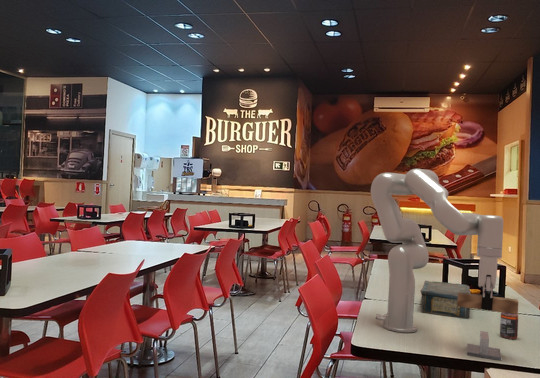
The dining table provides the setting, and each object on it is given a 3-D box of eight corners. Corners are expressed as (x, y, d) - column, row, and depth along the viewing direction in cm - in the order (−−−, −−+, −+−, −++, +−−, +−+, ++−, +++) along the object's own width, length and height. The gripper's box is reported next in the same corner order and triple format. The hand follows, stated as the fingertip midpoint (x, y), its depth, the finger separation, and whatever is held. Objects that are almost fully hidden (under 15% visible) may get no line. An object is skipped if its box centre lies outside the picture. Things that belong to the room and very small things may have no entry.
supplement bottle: (512, 335, 185) (513, 305, 185) (520, 340, 179) (522, 309, 179) (496, 334, 185) (498, 304, 185) (504, 339, 179) (506, 308, 179)
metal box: (418, 313, 214) (419, 290, 214) (422, 299, 244) (423, 279, 244) (470, 320, 206) (472, 296, 206) (468, 305, 237) (469, 284, 237)
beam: (457, 306, 162) (457, 294, 162) (457, 304, 166) (458, 292, 166) (517, 314, 155) (518, 301, 155) (516, 311, 159) (517, 299, 159)
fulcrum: (466, 354, 158) (467, 336, 158) (467, 346, 167) (468, 329, 167) (501, 360, 154) (502, 341, 154) (499, 351, 163) (500, 333, 163)
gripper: (476, 249, 170) (474, 302, 170) (477, 253, 155) (474, 312, 154) (500, 251, 167) (497, 305, 167) (503, 256, 152) (500, 315, 152)
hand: (486, 307), depth 161 cm, fingers closed on beam, 4 cm apart
